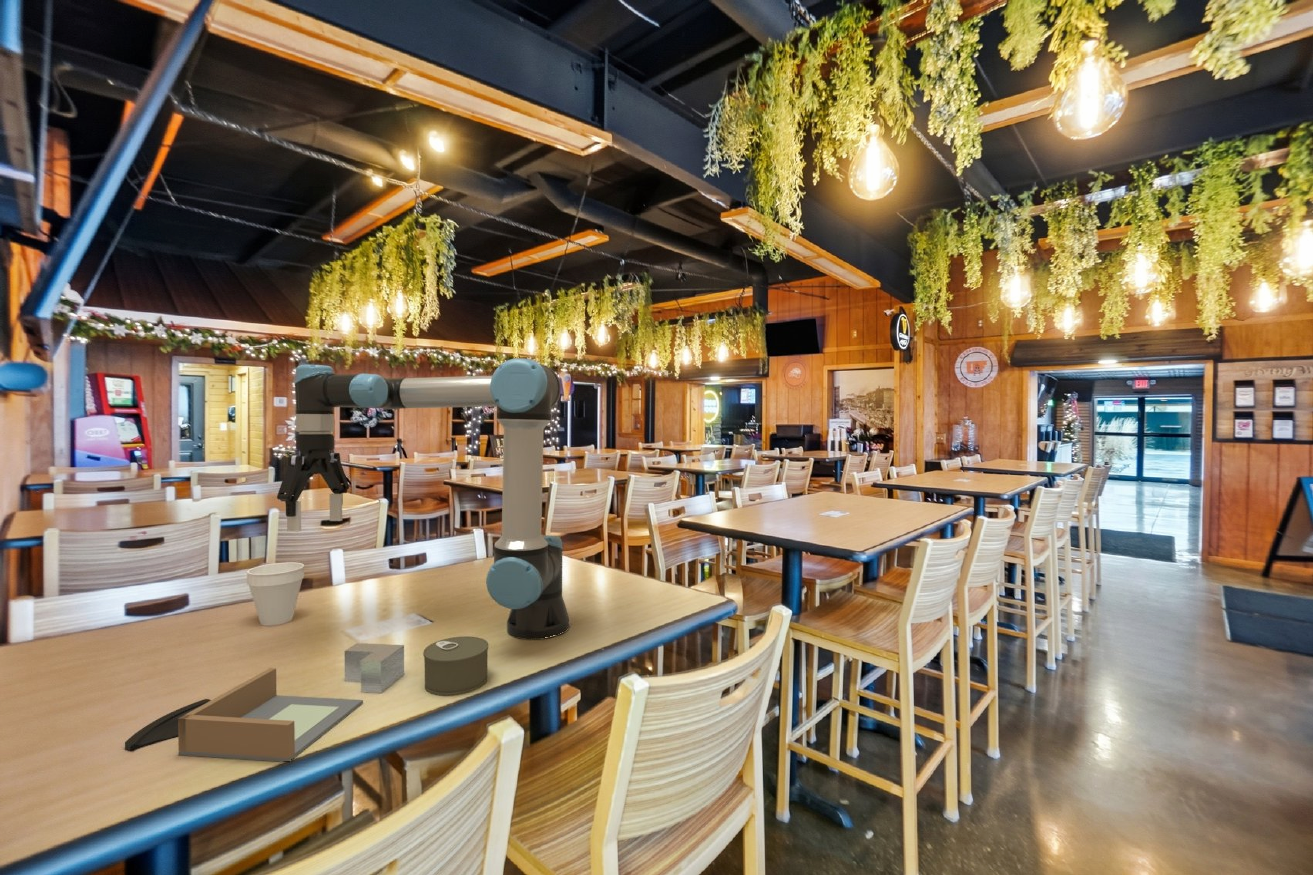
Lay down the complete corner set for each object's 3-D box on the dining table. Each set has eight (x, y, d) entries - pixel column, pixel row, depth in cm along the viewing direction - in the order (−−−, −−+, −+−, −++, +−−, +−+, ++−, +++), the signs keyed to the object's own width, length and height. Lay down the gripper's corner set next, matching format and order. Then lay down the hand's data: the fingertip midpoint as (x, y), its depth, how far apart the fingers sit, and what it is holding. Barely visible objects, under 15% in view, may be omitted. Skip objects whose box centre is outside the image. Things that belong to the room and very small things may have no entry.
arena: (362, 703, 102) (362, 672, 102) (288, 762, 84) (288, 725, 84) (270, 698, 104) (270, 668, 104) (178, 755, 86) (178, 718, 86)
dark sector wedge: (108, 746, 89) (108, 735, 89) (205, 706, 102) (205, 698, 102) (137, 758, 86) (136, 748, 86) (234, 716, 98) (233, 707, 98)
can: (451, 703, 103) (451, 665, 103) (410, 686, 109) (410, 651, 109) (501, 678, 113) (501, 644, 113) (461, 664, 119) (461, 632, 119)
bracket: (404, 674, 114) (404, 645, 114) (381, 693, 106) (380, 661, 106) (357, 672, 115) (357, 643, 115) (331, 690, 107) (330, 659, 107)
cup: (235, 625, 141) (234, 571, 141) (284, 610, 153) (283, 560, 152) (268, 632, 137) (267, 576, 136) (316, 616, 148) (315, 564, 148)
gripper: (336, 432, 142) (337, 516, 143) (255, 433, 118) (257, 535, 118) (364, 432, 142) (365, 517, 142) (289, 434, 117) (290, 536, 117)
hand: (316, 525), depth 130 cm, fingers open, 13 cm apart
